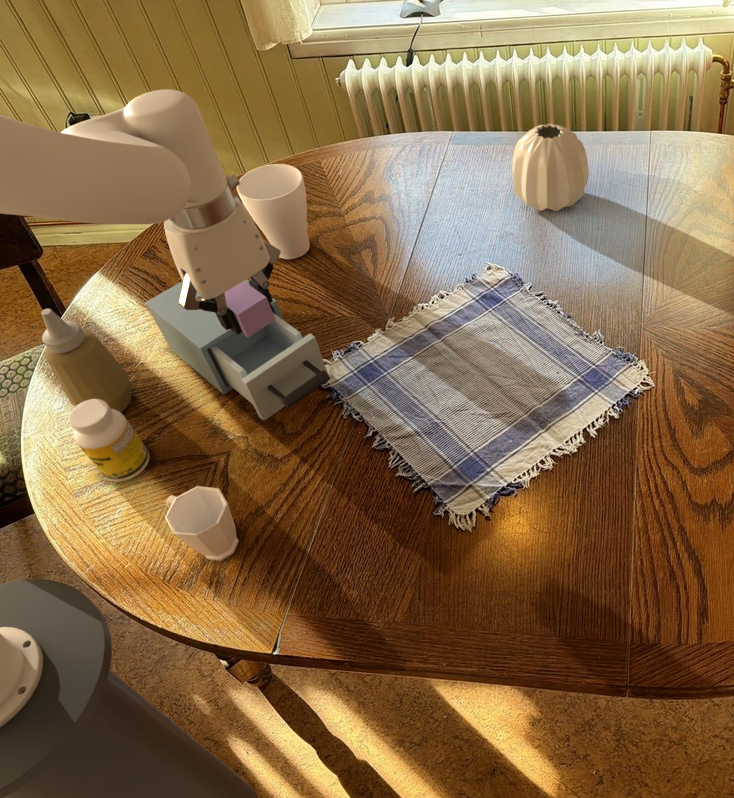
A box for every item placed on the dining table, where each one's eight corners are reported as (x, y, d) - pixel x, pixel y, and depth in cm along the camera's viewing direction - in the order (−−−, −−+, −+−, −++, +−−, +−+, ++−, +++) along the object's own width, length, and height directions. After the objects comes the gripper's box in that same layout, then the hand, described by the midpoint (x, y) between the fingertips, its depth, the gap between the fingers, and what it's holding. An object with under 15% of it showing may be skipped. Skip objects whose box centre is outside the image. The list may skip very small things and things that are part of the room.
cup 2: (294, 275, 126) (271, 207, 116) (249, 256, 129) (222, 189, 119) (335, 241, 132) (315, 173, 121) (290, 224, 135) (268, 157, 125)
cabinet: (294, 347, 114) (276, 300, 107) (224, 395, 108) (199, 348, 101) (240, 306, 121) (219, 259, 114) (170, 349, 115) (144, 302, 108)
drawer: (350, 391, 107) (338, 353, 101) (285, 439, 102) (268, 402, 96) (273, 333, 115) (258, 295, 109) (210, 375, 110) (190, 337, 104)
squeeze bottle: (150, 402, 108) (90, 309, 94) (96, 434, 104) (26, 343, 91) (123, 374, 112) (63, 282, 98) (71, 405, 108) (0, 313, 94)
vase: (592, 181, 142) (595, 114, 131) (578, 224, 133) (580, 156, 123) (522, 173, 144) (519, 107, 134) (504, 215, 135) (499, 148, 125)
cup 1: (220, 580, 89) (195, 546, 83) (162, 544, 92) (133, 509, 86) (261, 535, 93) (240, 500, 87) (204, 502, 96) (180, 466, 90)
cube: (247, 337, 98) (237, 315, 94) (225, 320, 100) (214, 297, 97) (275, 319, 100) (266, 297, 97) (252, 302, 102) (243, 280, 99)
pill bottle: (92, 474, 100) (50, 422, 91) (127, 440, 103) (89, 387, 95) (127, 490, 98) (86, 438, 90) (161, 455, 101) (125, 402, 93)
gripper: (242, 160, 91) (284, 275, 105) (115, 225, 83) (179, 340, 97) (279, 182, 88) (317, 298, 102) (150, 252, 80) (211, 367, 94)
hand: (249, 317), depth 99 cm, fingers closed on cube, 4 cm apart
